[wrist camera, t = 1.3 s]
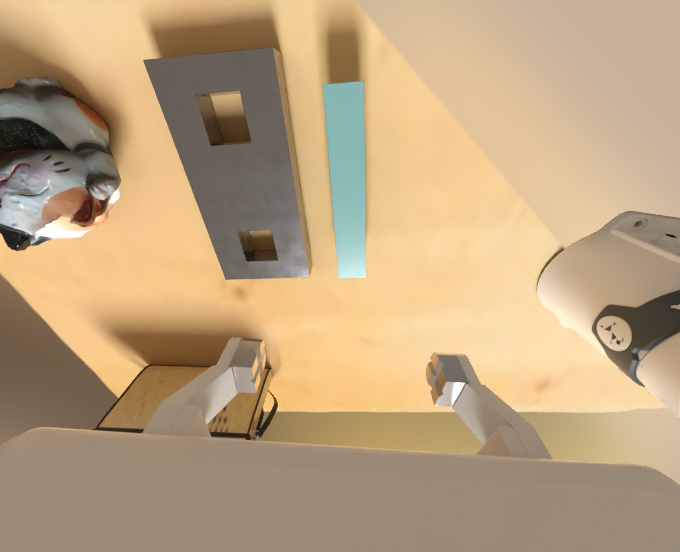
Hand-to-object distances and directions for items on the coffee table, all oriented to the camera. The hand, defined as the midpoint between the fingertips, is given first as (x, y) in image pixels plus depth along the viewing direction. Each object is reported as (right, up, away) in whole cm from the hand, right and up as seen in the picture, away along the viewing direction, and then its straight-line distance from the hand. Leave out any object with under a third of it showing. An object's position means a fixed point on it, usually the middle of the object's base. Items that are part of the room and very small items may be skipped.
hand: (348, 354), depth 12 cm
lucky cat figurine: (-31, +19, +18) cm, 41 cm away
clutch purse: (-27, -17, +42) cm, 52 cm away
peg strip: (+1, +15, +19) cm, 24 cm away
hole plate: (-11, +15, +19) cm, 27 cm away
